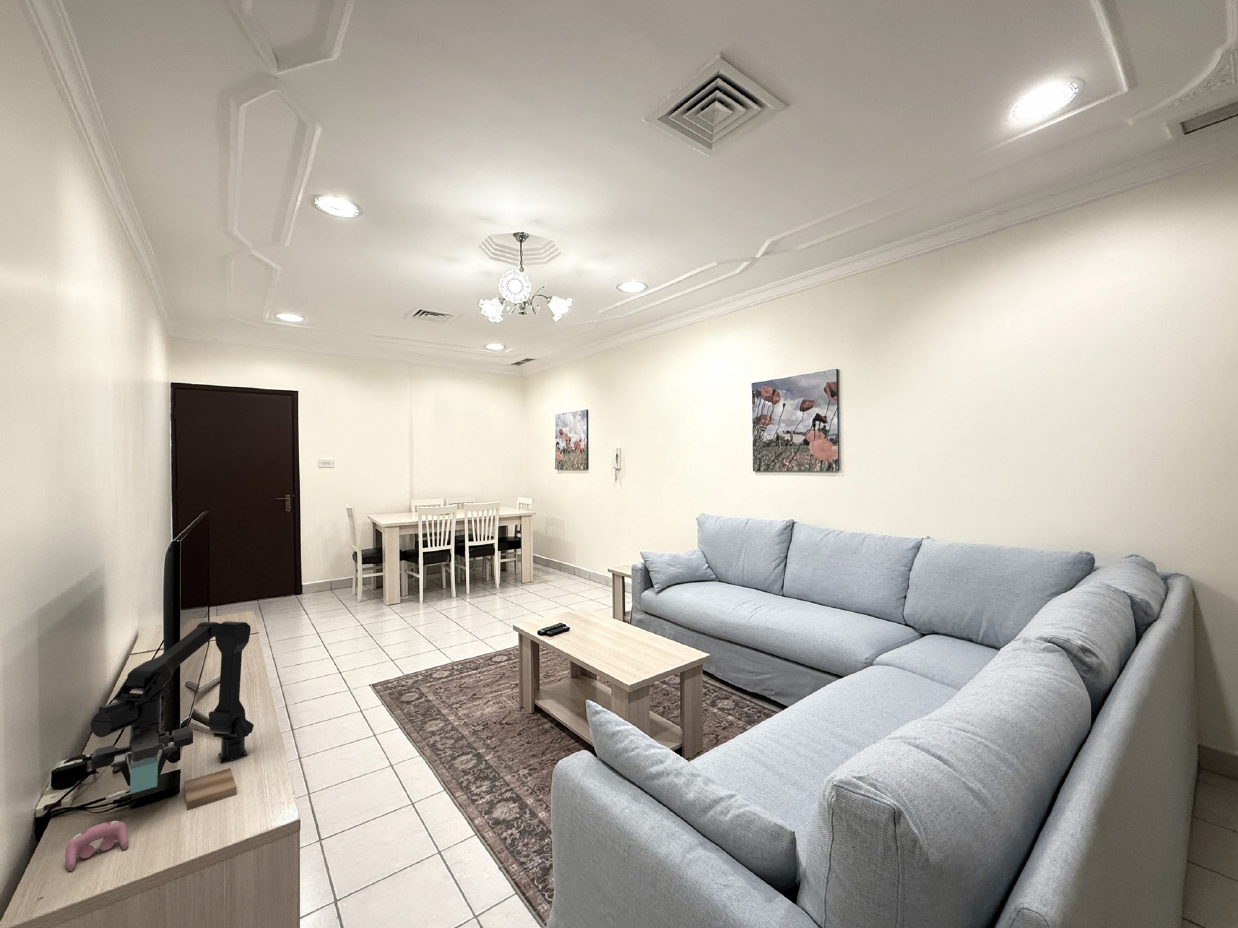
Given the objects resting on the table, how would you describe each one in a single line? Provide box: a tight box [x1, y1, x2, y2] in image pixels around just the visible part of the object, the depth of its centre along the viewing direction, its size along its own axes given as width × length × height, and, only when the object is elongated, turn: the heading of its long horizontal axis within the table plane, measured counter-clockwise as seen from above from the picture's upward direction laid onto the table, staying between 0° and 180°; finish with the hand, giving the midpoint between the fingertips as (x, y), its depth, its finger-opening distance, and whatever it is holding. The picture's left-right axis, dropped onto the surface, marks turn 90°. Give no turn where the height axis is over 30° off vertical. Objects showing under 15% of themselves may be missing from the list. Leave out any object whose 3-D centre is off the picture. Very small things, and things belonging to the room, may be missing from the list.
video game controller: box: [64, 820, 129, 872], centre depth 117 cm, size 10×5×7 cm, turn 141°
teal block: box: [129, 755, 159, 795], centre depth 133 cm, size 5×5×6 cm
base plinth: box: [183, 767, 237, 811], centre depth 140 cm, size 12×10×2 cm
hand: (143, 781), depth 133 cm, fingers closed on teal block, 5 cm apart
